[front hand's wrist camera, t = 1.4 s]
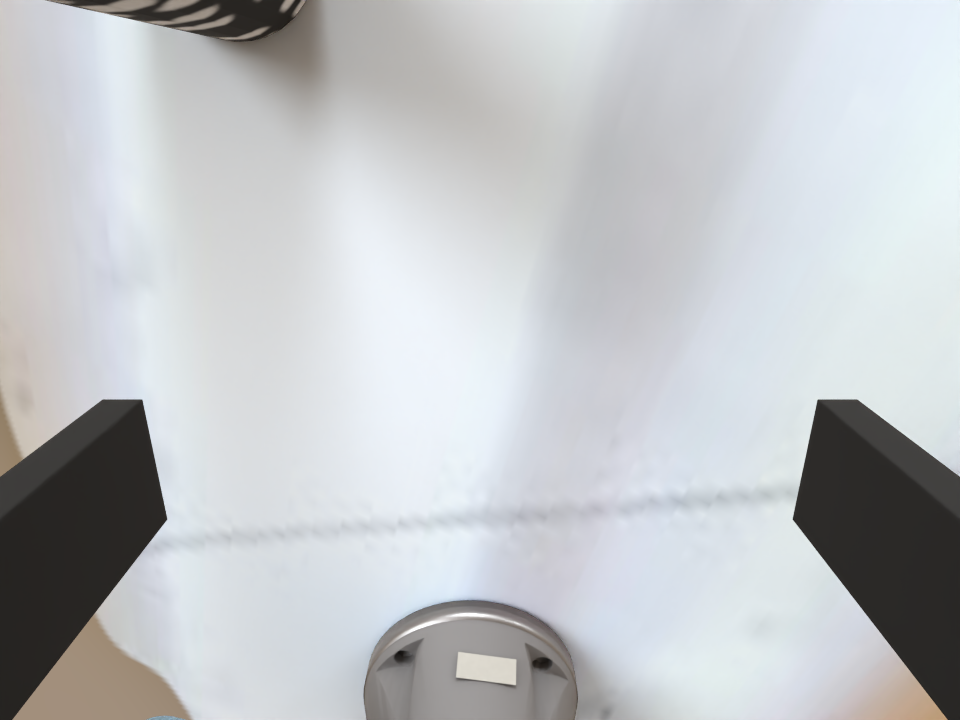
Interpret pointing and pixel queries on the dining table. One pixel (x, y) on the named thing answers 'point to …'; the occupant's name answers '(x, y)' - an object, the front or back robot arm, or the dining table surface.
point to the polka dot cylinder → (203, 15)
